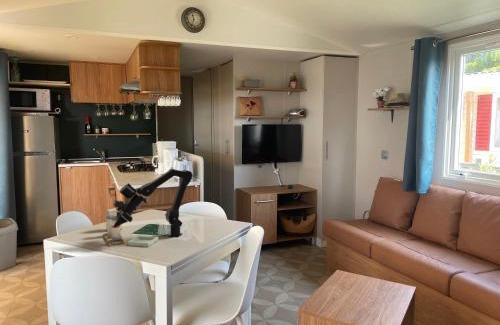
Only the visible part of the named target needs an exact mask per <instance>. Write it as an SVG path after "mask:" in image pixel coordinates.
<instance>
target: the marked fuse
mask: <svg viewBox="0 0 500 325" xmlns="http://www.w3.org/2000/svg"><path fill="white" fill-rule="evenodd" d="M118 218H119V216H112V217H111V227H112V238H111V240H118V239H121V237H122V236H120V235H121V229H120V225H119V226H117V227H115V228H114V227H113V226H114V224H115V223H116V221H117V220H118Z"/></svg>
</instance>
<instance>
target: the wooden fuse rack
mask: <svg viewBox="0 0 500 325" xmlns="http://www.w3.org/2000/svg"><path fill="white" fill-rule="evenodd" d="M102 236H103V238H104V240H105V242H106V243H107V245H108V246H109V247H114V246H115V247H116V246H123V245H127V244H128V241H129V240H125V238H123V237H122V236H121V234H120V236H121V239H118V240H112V236H107V233H102Z"/></svg>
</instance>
